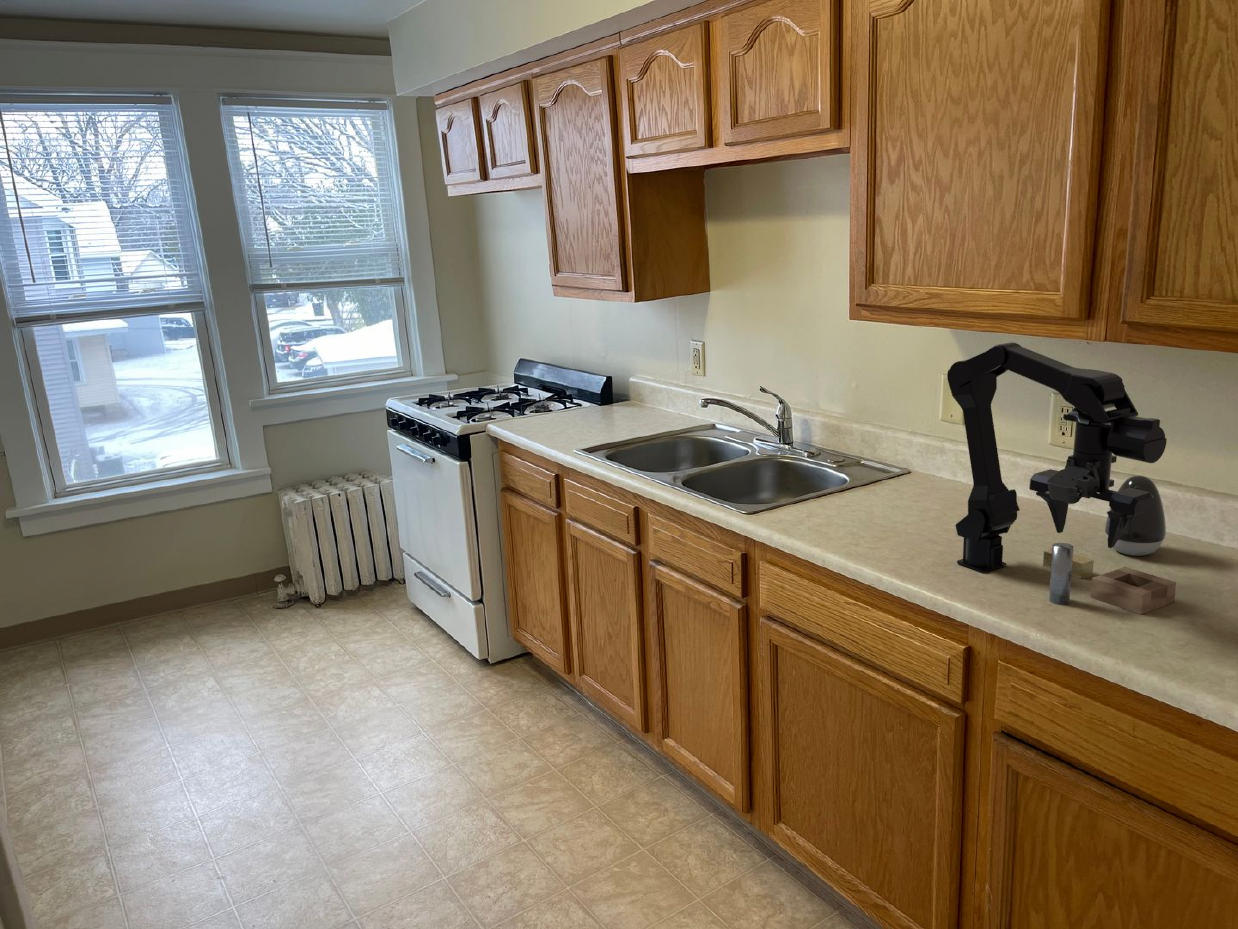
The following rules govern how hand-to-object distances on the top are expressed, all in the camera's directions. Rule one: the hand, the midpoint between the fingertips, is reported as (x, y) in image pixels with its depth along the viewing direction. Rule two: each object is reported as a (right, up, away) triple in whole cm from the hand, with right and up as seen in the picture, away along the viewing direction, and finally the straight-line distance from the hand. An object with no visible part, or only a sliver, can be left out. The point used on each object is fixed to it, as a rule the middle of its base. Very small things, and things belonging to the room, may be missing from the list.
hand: (1084, 539), depth 154 cm
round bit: (-3, -11, +3) cm, 12 cm away
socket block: (+9, -10, +2) cm, 14 cm away
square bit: (+5, -7, +16) cm, 18 cm away
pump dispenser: (+21, -4, +23) cm, 31 cm away
